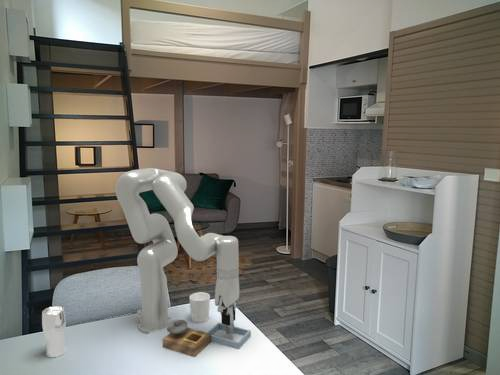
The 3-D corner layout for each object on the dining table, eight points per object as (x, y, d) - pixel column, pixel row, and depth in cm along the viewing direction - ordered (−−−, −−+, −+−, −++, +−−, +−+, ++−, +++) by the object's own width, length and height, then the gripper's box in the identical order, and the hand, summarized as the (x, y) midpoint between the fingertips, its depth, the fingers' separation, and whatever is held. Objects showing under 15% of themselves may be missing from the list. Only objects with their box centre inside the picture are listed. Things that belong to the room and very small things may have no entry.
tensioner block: (160, 349, 132) (159, 327, 131) (178, 335, 141) (177, 314, 140) (194, 359, 126) (194, 337, 125) (211, 344, 135) (210, 323, 134)
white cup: (206, 326, 148) (206, 301, 147) (187, 324, 149) (186, 299, 148) (212, 316, 156) (212, 293, 154) (193, 315, 157) (193, 291, 156)
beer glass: (72, 348, 132) (69, 307, 130) (56, 360, 126) (53, 316, 124) (56, 345, 135) (53, 304, 133) (39, 356, 128) (36, 313, 126)
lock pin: (222, 333, 136) (220, 303, 135) (228, 328, 140) (225, 298, 139) (232, 335, 135) (230, 304, 133) (237, 330, 138) (235, 299, 137)
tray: (204, 342, 137) (204, 334, 136) (218, 330, 145) (218, 322, 145) (238, 351, 131) (238, 343, 131) (250, 338, 139) (250, 330, 139)
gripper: (229, 263, 143) (230, 310, 146) (205, 278, 129) (207, 330, 131) (248, 266, 140) (248, 314, 143) (225, 282, 125) (226, 335, 128)
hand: (228, 321), depth 137 cm, fingers closed on lock pin, 3 cm apart
